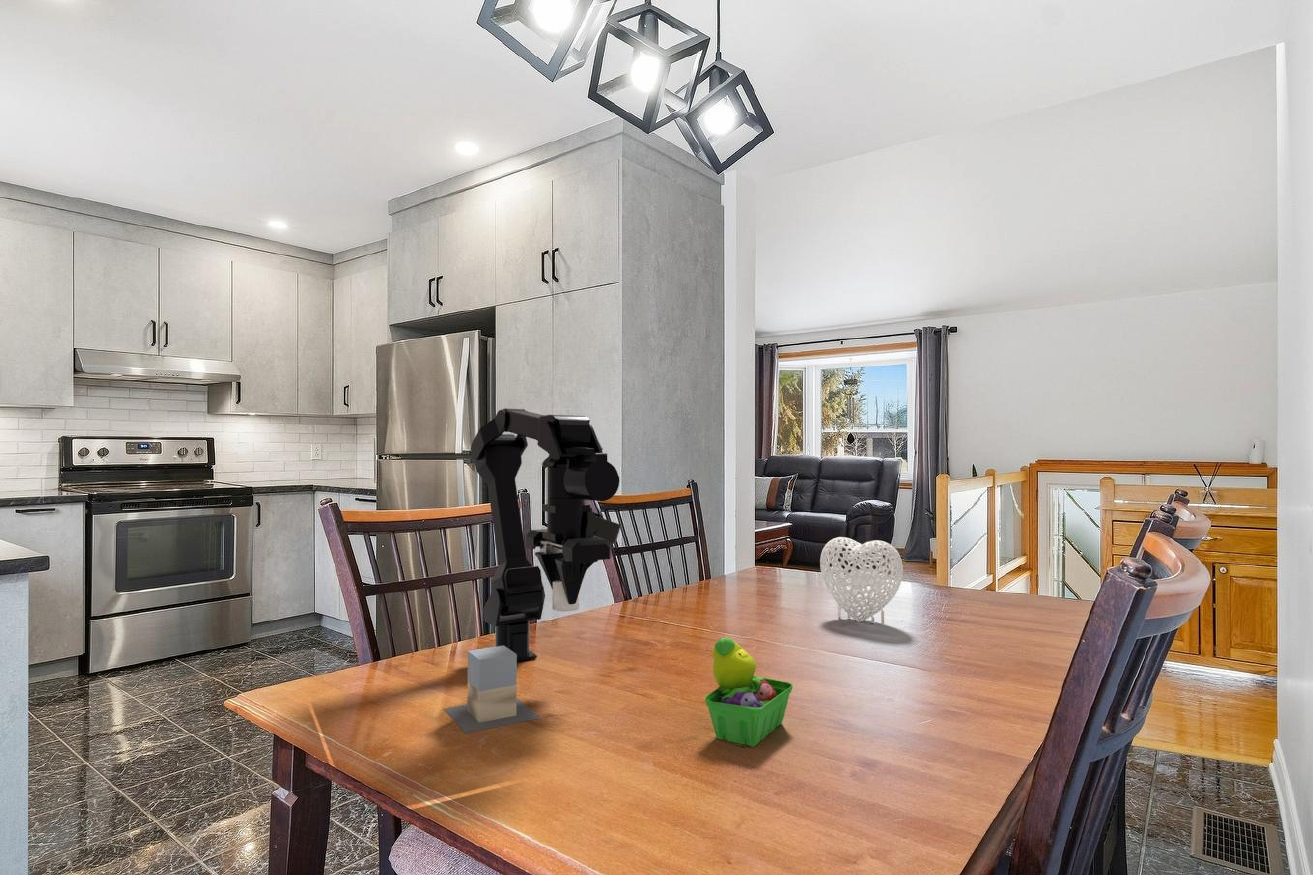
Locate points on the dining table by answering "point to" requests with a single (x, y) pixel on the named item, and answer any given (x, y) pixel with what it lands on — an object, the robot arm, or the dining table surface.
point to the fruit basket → (744, 697)
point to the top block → (492, 668)
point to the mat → (473, 725)
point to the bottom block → (491, 703)
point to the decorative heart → (861, 576)
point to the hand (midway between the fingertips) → (566, 601)
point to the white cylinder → (562, 598)
